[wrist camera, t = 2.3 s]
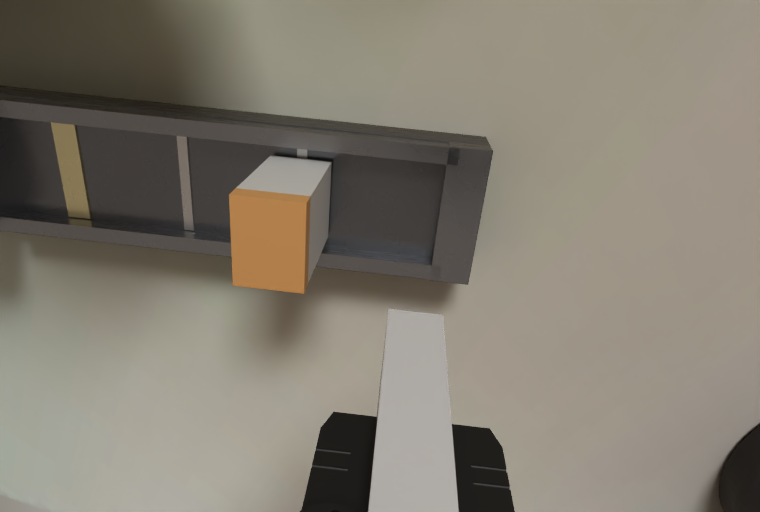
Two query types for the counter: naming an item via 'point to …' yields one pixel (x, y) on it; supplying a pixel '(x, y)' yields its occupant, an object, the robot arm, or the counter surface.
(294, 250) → the fader tab
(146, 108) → the tray
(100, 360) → the counter surface
